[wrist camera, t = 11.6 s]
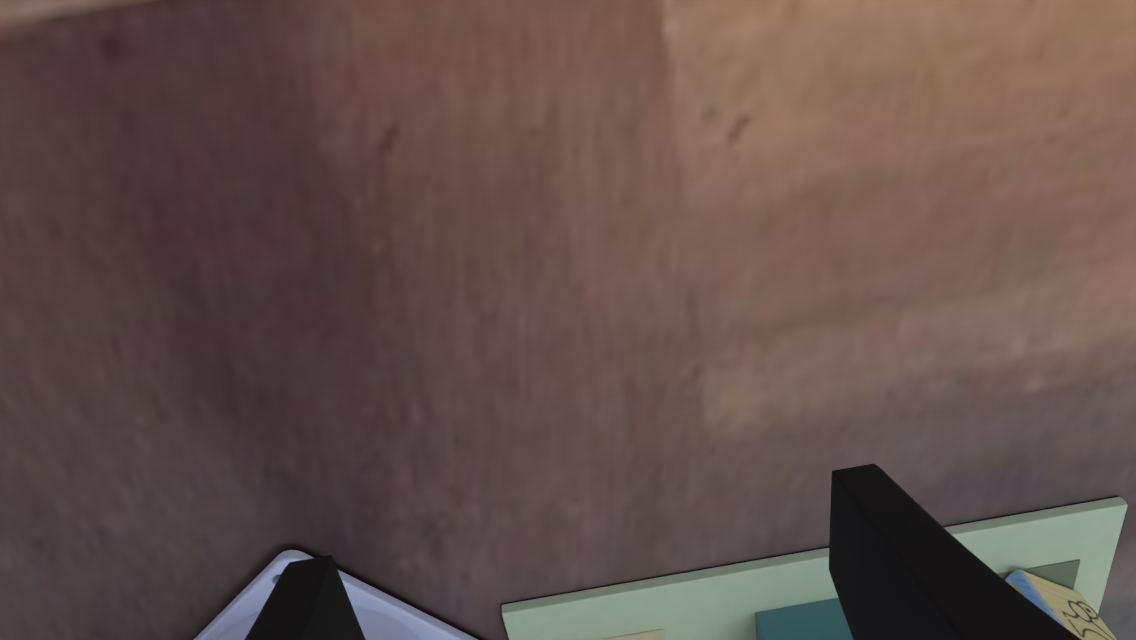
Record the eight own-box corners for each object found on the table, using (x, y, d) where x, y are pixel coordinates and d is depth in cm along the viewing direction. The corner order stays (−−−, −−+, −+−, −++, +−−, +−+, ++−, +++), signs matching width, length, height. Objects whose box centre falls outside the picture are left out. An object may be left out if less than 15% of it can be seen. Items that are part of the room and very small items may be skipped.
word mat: (540, 748, 33) (541, 760, 33) (501, 604, 29) (501, 616, 28) (1079, 653, 33) (1086, 664, 33) (1120, 495, 29) (1129, 506, 28)
